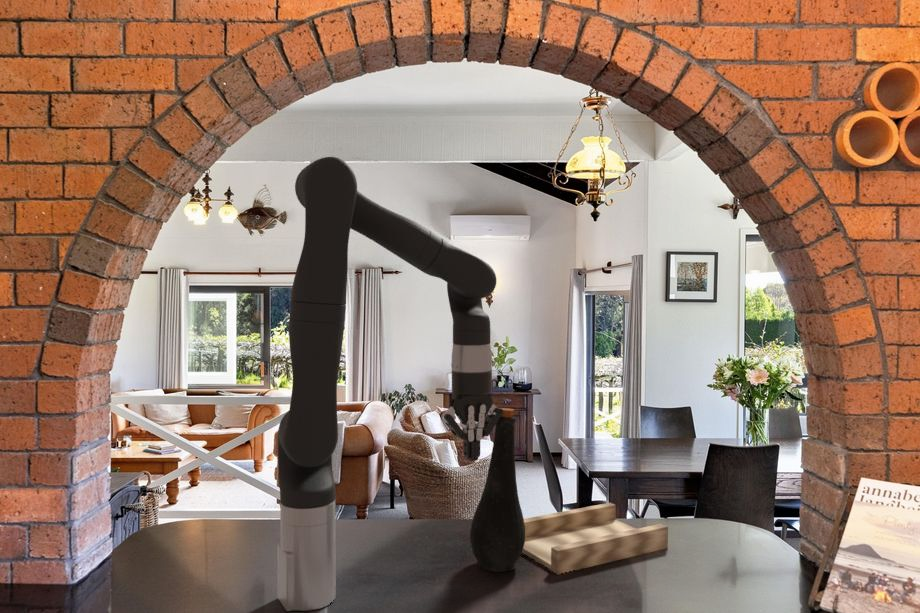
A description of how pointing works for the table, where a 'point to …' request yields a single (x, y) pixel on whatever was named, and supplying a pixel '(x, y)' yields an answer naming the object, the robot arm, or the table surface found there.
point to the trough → (587, 538)
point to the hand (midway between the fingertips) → (472, 459)
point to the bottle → (499, 505)
